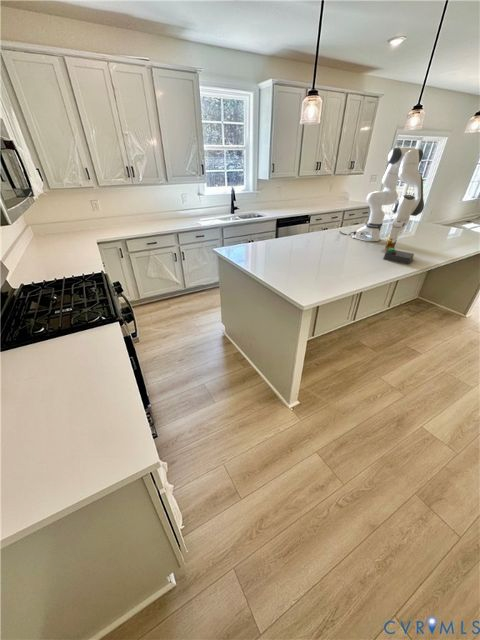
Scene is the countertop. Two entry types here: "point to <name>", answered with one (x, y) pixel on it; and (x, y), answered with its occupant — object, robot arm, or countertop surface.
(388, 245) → the condiment
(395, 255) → the control panel
